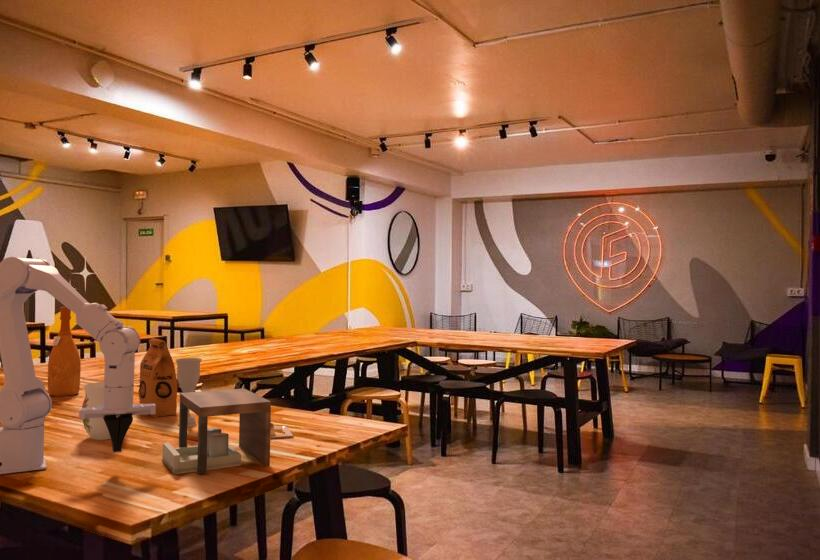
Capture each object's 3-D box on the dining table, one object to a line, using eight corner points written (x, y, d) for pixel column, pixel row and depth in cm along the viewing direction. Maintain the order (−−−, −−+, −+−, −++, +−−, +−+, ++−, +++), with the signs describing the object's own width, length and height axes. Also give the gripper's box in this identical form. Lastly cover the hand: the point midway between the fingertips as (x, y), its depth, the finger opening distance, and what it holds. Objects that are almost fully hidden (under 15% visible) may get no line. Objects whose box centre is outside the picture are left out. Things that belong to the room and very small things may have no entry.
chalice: (191, 428, 173) (193, 361, 174) (168, 427, 175) (170, 360, 175) (205, 423, 181) (206, 358, 181) (183, 421, 182) (184, 357, 182)
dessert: (240, 432, 173) (241, 414, 173) (285, 429, 177) (286, 412, 177) (245, 443, 162) (246, 424, 162) (293, 439, 166) (293, 421, 166)
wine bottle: (51, 392, 224) (52, 305, 224) (82, 391, 226) (84, 305, 226) (44, 397, 214) (46, 306, 214) (77, 396, 217) (78, 306, 217)
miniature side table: (199, 475, 132) (200, 407, 132) (178, 453, 149) (179, 393, 149) (269, 466, 140) (270, 401, 140) (243, 446, 156) (244, 388, 157)
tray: (173, 475, 133) (174, 443, 133) (162, 460, 144) (162, 431, 144) (241, 465, 141) (241, 436, 141) (225, 452, 151) (226, 425, 151)
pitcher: (121, 426, 175) (122, 375, 175) (135, 440, 160) (136, 385, 160) (76, 431, 169) (77, 378, 169) (86, 446, 154) (87, 388, 154)
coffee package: (145, 418, 185) (147, 341, 185) (135, 411, 195) (136, 338, 195) (181, 415, 190) (182, 340, 191) (169, 408, 201) (170, 337, 201)
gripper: (81, 390, 128) (79, 459, 128) (159, 386, 135) (157, 451, 135) (78, 385, 134) (76, 451, 134) (153, 381, 141) (151, 443, 141)
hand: (116, 450), depth 135 cm, fingers closed
